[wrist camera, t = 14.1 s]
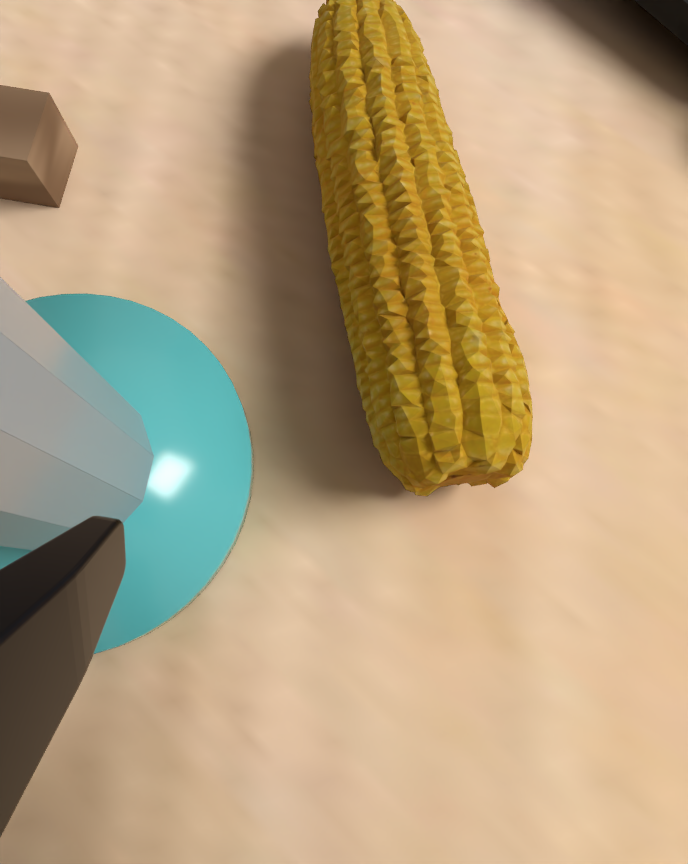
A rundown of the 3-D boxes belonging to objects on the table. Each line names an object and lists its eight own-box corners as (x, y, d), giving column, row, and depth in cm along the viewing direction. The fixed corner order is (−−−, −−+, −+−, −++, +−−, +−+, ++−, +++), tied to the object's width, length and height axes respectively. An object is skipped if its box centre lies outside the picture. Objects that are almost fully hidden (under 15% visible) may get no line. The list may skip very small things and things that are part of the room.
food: (521, 485, 24) (585, 452, 18) (376, 515, 23) (395, 491, 17) (395, 38, 29) (414, -101, 23) (273, 56, 28) (261, -82, 22)
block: (59, 208, 26) (27, 160, 23) (-12, 197, 26) (-55, 147, 23) (78, 147, 26) (49, 92, 24) (9, 136, 26) (-30, 80, 24)
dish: (213, 685, 21) (207, 691, 20) (-162, 624, 21) (-190, 626, 20) (282, 336, 25) (280, 323, 23) (-45, 283, 25) (-62, 268, 23)
